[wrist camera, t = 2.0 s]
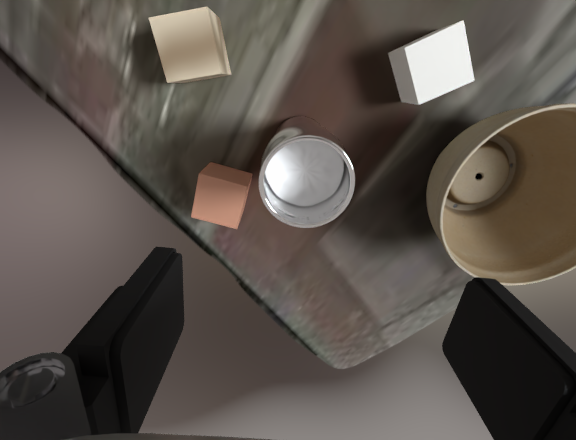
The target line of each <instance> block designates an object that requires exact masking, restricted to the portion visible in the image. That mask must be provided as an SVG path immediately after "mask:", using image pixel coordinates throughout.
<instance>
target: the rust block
mask: <svg viewBox="0 0 576 440" xmlns="http://www.w3.org/2000/svg"><path fill="white" fill-rule="evenodd" d="M252 175H253V174H252V173H248V172H245V171H241V170H238V169H234V168H231V167H227V166H223V165H220V164H216V163H213V162H210V163H209V164H208V165H207V166H206V167H205V168H204V169H203V170H202V171H201V172H200V173H199V176H198V181H197V187H196V193H195V198H194V204H193V209H192V215H191V217H193V218H196V219H200V220H204V221H208V222H212V223H216V224H219V225H223V226H227V227H231V228H235V229H237V227H238V225H239V222H240V219H241V216H242V213H243V210H244V206H245V202H246V198H247V194H248V190H249V186H250V182H251V179H252Z"/></svg>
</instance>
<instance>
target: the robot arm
mask: <svg viewBox="0 0 576 440" xmlns="http://www.w3.org/2000/svg"><path fill="white" fill-rule="evenodd" d="M183 326H184V301H183V270H182V255H181V254H180V253H177V252H176V249H174V248H165V247H156V248H154V249H153V251H152V252H151V253H150V254H149V255H148V257H147V258H146V259H145V260H144V262H143V263H142V264H141V265H140V266H139V268H138V269H137V270H136V272H135V273H134V274H133V275H132V276H131V277H130V279H129V280H128V281H127V282H126V283H125V285H124V286H119V287H118V288H117V289H116V290H115V291H114V292H113V293H112V294H111V295H110V297H109V298H108V299H107V300H106V301H105V302H104V304H103V305H102V306H101V307H100V308H99V309H98V311H97V312H96V313H95V314H94V315H93V316H92V318H91V319H90V320H89V321H88V323H87V324H86V325H85V326H84V327H83V328H82V329H81V331H80V332H79V333H78V334H77V335H76V337H75V338H74V339H73V340H72V341H71V343H70V344H69V345H68V346H67V347H66V348H65V349H64V351H63V352H62V353H54V352H51V353H41V354H37V355H33V356H29V357H27V358H24V359H22V360H20V361H18V362H15V363H14V364H12V365H11V366H9V367H7V368H6V369H4V370H3V371H1V372H0V440H270V439H254V438H253V439H252V438H238V437H222V436H200V435H178V434H155V433H154V434H153V433H145V434H144V433H138V432H139V429H140V427H141V425H142V423H143V420H144V418H145V416H146V414H147V411H148V409H149V406H150V404H151V402H152V400H153V397H154V395H155V393H156V390H157V388H158V386H159V384H160V381H161V379H162V377H163V374H164V372H165V370H166V367H167V365H168V362H169V360H170V358H171V356H172V353H173V351H174V349H175V347H176V344H177V342H178V340H179V337H180V335H181V332H182V330H183ZM442 347H443V352H444V355H445V356H446V358H447V360H448V361H449V363H450V365H451V367H452V368H453V370H454V372H455V373H456V375H457V377H458V379H459V380H460V382H461V384H462V386H463V387H464V389H465V391H466V392H467V394H468V396H469V397H470V399H471V401H472V403H473V404H474V406H475V408H476V409H477V411H478V413H479V415H480V416H481V418H482V420H483V422H484V423H485V425H486V427H487V428H488V430H489V432H490V434H491V435H492V437H493V439H494V440H576V353H575V352H574V351H573V350H572V349H570V347H569V346H567V345H566V344H565V343H564V342H563V341H562V340H561V339H560V338H559V337H558V336H557V335H556V334H555V333H553V332H552V331H551V330H550V329H549V328H548V327H547V326H546V325H545V324H544V323H543V322H542V321H541V320H539V319H538V318H537V317H536V316H535V315H534V314H533V313H532V312H531V311H530V310H529V309H528V308H526V307H525V306H524V305H523V304H522V303H521V302H520V301H519V300H518V299H517V298H516V297H515V296H514V295H513V294H511V293H510V292H509V291H508V290H507V289H506V288H505V287H504V286H503V285H502V284H501V283H500V282H499V281H497V280H496V279H491V278H480V277H476V278H474V279H472V281H469V282H468V283H467V284H466V287H465V289H464V292H463V294H462V296H461V299H460V301H459V304H458V306H457V309H456V311H455V314H454V316H453V319H452V321H451V324H450V326H449V328H448V331H447V334H446V336H445V338H444V341H443V345H442Z"/></svg>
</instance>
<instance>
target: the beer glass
mask: <svg viewBox="0 0 576 440" xmlns="http://www.w3.org/2000/svg"><path fill="white" fill-rule="evenodd" d="M354 188H355V173H354V168H353V165H352V163H351V161H350V159H349V157H348V154H347V152H346V150H345V148H344V146H343V145H342V143H341V142H340V140H339V139H338V138H337V137H336V136H335V135H334V134H333V133H332V132H330V131H329V130H328V129H326V128H324V127H323V126H321V125H320V124H319V123H318V122H317V121H316V120H314V119H312V118H309V117H305V116H296V117H292V118H290V119H288V120H286V121H285V122H283V123H282V124H281V125H280V126H279V128H278V129H277V131H276V133H275V135H274V136H273V137H272V138H271V140H270V141H269V143H268V144H267V146H266V148H265V150H264V153H263V155H262V159H261V164H260V174H259V191H260V195H261V198H262V200H263V203H264V204H265V206H266V208H267V209H268V210H269V212H270V213H271V214H272V215H273V216H274V217H276V218H277V219H278V220H280V221H282V222H283V223H285V224H288V225H291V226H294V227H299V228H312V227H318V226H321V225H324V224H326V223H329V222H330V221H332V220H334V219H335V218H337V217H338V216H339V215H340V214H341V213H342V212H343V211H344V210H345V209H346V207H347V206H348V204H349V202H350V200H351V198H352V196H353V193H354Z"/></svg>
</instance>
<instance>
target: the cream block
mask: <svg viewBox="0 0 576 440" xmlns="http://www.w3.org/2000/svg"><path fill="white" fill-rule="evenodd" d="M388 55H389V59H390V63H391V66H392V70H393V74H394V77H395V81H396V85H397V88H398V92H399V96H400V99H401V102H405V103H411V104H416V105H420V104H422V103H424V102H427V101H429V100H431V99H434V98H436V97H438V96H441V95H443V94H445V93H447V92H450V91H452V90H454V89H457V88H459V87H461V86H463V85H466V84H468V83H470V82H473V81H474V75H473V70H472V64H471V59H470V53H469V47H468V42H467V36H466V31H465V25H464V20H462V21H460V22H457V23H454V24H451V25H449V26H446V27H443V28H440V29H438V30H435V31H433V32H431V33H429V34H427V35H425V36H423V37H421V38H419V39H416V40H414V41H412V42H410V43H408V44H406V45H404V46H402V47H400V48H397V49H395V50H393V51H391V52H389V53H388Z"/></svg>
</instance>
